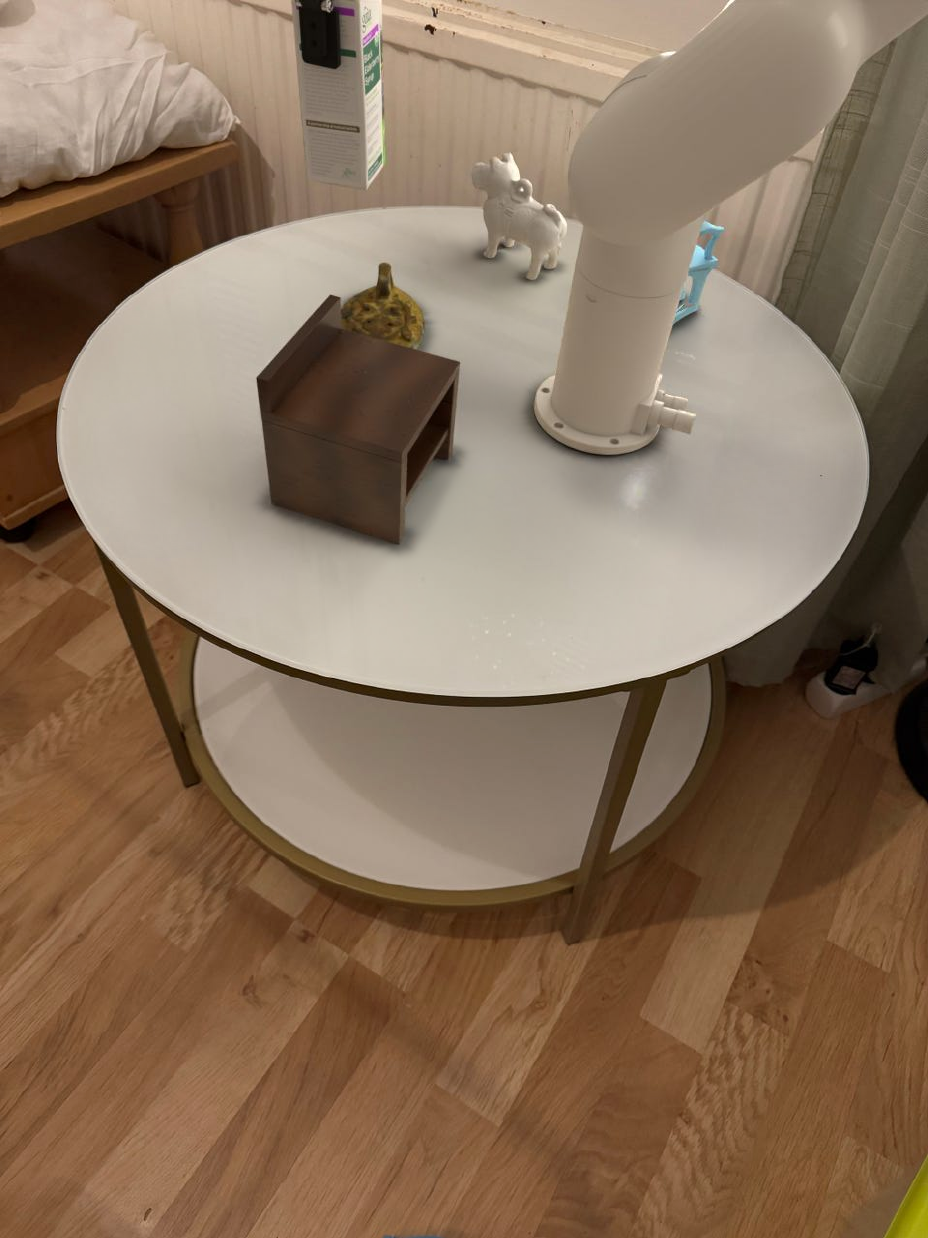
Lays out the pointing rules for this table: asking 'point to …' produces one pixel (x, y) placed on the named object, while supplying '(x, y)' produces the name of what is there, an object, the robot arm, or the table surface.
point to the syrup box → (345, 101)
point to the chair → (700, 268)
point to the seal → (385, 313)
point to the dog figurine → (517, 214)
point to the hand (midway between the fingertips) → (341, 48)
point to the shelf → (353, 423)
